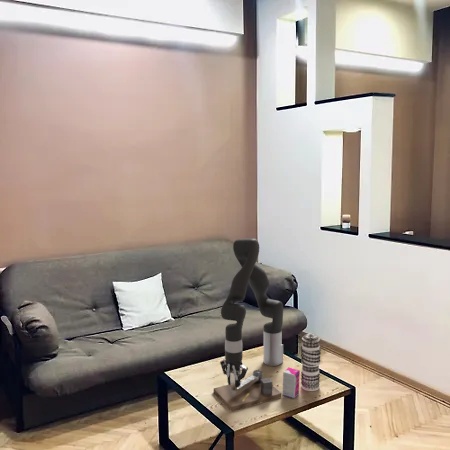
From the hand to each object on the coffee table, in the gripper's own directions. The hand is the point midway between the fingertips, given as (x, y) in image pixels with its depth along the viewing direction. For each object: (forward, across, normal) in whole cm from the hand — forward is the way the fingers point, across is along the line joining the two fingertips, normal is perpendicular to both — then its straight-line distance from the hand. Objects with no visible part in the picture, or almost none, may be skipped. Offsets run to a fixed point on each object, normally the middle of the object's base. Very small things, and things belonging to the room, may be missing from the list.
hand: (233, 385), depth 217 cm
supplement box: (+8, -17, -20) cm, 27 cm away
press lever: (+5, 0, -9) cm, 11 cm away
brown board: (+8, -2, -8) cm, 11 cm away
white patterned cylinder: (+8, -21, -31) cm, 38 cm away
